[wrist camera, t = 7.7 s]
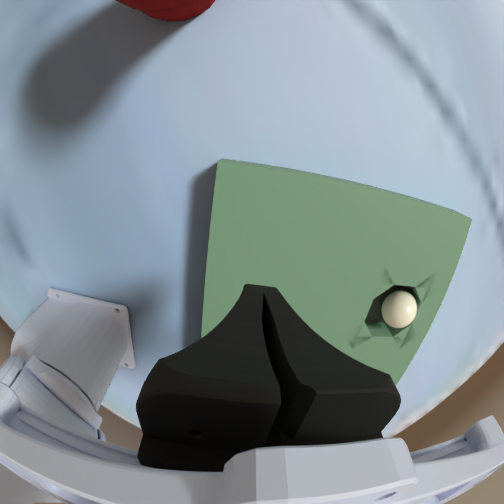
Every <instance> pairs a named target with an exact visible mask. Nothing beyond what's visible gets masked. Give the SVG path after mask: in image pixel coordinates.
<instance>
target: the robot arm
mask: <svg viewBox="0 0 504 504" xmlns="http://www.w3.org/2000/svg"><path fill="white" fill-rule="evenodd" d="M47 294H48V299H47V300H46V301H45V302H44V303H43V304H42V305H41V306H40V307H39V308H38V309H37V310H36V311H35V312H34V313H33V314H32V315H31V316H30V317H29V318H28V319H27V320H26V321H25V322H24V323H23V324H22V325H21V326H20V327H19V329H18V330H17V332H16V333H15V336H14V338H13V341H12V345H11V355H10V356H9V357H8V358H7V360H6V361H5V362H4V363H3V364H2V365H1V366H0V504H33V503H36V502H47V503H65V504H443V503H445V502H447V501H449V500H451V499H453V498H455V497H457V496H458V495H460V494H462V493H464V492H466V491H467V490H469V489H471V488H473V487H474V486H475V485H477V484H478V483H480V482H481V481H483V480H484V479H485V478H487V477H488V476H489V475H491V474H492V473H493V472H494V471H496V470H497V469H498V468H499V467H500V466H502V465H503V464H504V434H503V432H502V430H501V429H500V427H499V425H498V423H497V422H496V420H495V418H494V417H493V415H491V416H489V417H487V418H484V419H482V420H480V421H478V422H476V423H475V424H473V425H472V426H471V427H470V428H469V429H468V430H467V431H466V433H465V434H464V435H462V436H460V437H457V438H454V439H451V440H449V441H446V442H443V443H440V444H437V445H434V446H431V447H428V448H425V449H421V450H418V451H414V452H411V453H409V450H408V448H407V445H406V443H405V442H404V441H403V439H402V438H383V436H382V433H381V431H382V430H383V429H384V428H385V426H386V425H387V424H388V423H389V422H390V420H391V419H392V418H393V417H394V415H395V414H396V412H397V411H398V409H399V407H400V403H401V398H400V394H399V392H398V390H397V388H396V386H395V384H394V382H393V380H392V378H391V376H390V374H387V373H384V372H382V371H379V370H377V369H374V368H372V367H370V366H367V365H365V364H363V363H361V362H359V361H357V360H355V359H353V358H351V357H350V356H348V355H346V354H345V353H343V352H341V351H340V350H338V349H337V348H335V347H334V346H332V345H331V344H330V343H328V342H327V341H326V340H324V339H323V338H322V337H321V336H319V335H318V334H317V333H316V332H315V331H313V330H312V329H311V328H310V327H309V326H308V325H307V324H306V323H305V322H304V321H303V320H302V319H301V318H300V316H299V315H298V314H297V313H296V312H295V311H294V310H293V308H292V307H291V306H290V305H289V304H288V302H287V301H286V300H285V298H284V297H283V296H282V294H281V293H280V292H279V290H278V289H277V288H276V287H270V286H262V285H254V284H245V285H244V286H243V291H242V293H241V295H240V297H239V299H238V300H237V302H236V303H235V305H234V306H233V308H232V309H231V310H230V312H229V313H228V314H227V315H226V316H225V318H224V319H223V320H222V321H221V322H220V323H219V324H218V325H217V326H216V327H215V328H214V329H212V330H211V331H210V332H209V333H208V334H206V335H205V336H204V337H202V338H201V339H200V340H198V341H197V342H195V343H193V344H192V345H190V346H188V347H187V348H185V349H183V350H181V351H179V352H177V353H174V354H172V355H169V356H167V357H164V358H161V359H159V360H158V362H157V363H156V364H155V366H154V367H153V369H152V370H151V372H150V373H149V375H148V377H147V378H146V380H145V382H144V384H143V386H142V389H141V391H140V394H139V397H138V400H137V403H136V412H137V415H138V419H139V422H140V425H141V429H142V432H143V437H142V440H141V444H140V448H139V451H134V450H131V449H127V448H124V447H121V446H118V445H114V444H111V443H108V442H106V437H105V434H104V433H103V432H102V430H100V429H99V427H100V424H101V422H102V418H101V417H100V416H99V415H98V414H97V411H98V409H99V407H100V405H101V402H102V400H103V398H104V396H105V394H106V392H107V389H108V387H109V385H110V383H111V381H112V379H113V377H114V375H115V373H116V371H117V369H118V367H119V366H122V367H126V368H130V369H134V368H135V366H136V363H135V357H134V351H133V344H132V337H131V329H130V321H129V312H128V309H127V307H126V306H124V305H120V304H115V303H111V302H106V301H102V300H97V299H93V298H89V297H85V296H81V295H77V294H73V293H69V292H65V291H61V290H58V289H54V288H49V289H48V290H47ZM116 308H117V309H119V311H118V310H117V309H116ZM126 363H127V364H126Z"/></svg>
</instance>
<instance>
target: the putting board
mask: <svg viewBox="0 0 504 504" xmlns="http://www.w3.org/2000/svg"><path fill="white" fill-rule="evenodd" d="M471 221H472V219H471V218H469V217H467V216H465V215H463V214H460V213H458V212H456V211H454V210H451V209H448V208H445V207H442V206H439V205H436V204H433V203H429V202H426V201H423V200H420V199H416V198H413V197H410V196H406V195H403V194H399V193H395V192H392V191H388V190H384V189H380V188H377V187H373V186H369V185H365V184H360V183H356V182H352V181H348V180H343V179H339V178H334V177H329V176H325V175H320V174H315V173H310V172H305V171H299V170H294V169H288V168H282V167H276V166H270V165H264V164H257V163H250V162H243V161H236V160H228V159H221V160H219V161H218V164H217V171H216V179H215V187H214V196H213V204H212V213H211V223H210V232H209V242H208V253H207V264H206V275H205V288H204V301H203V315H202V331H201V338H202V337H204V336H205V335H206V334H208V333H209V332H210V331H211V330H212V329H214V328H215V327H216V326H217V325H218V324H219V323H220V322H221V321H222V320H223V319H224V318H225V316H226V315H227V314H228V313H229V312H230V310H231V309H232V308H233V306H234V305H235V303H236V302H237V300H238V299H239V297H240V295H241V293H242V291H243V286H244V285H245V284H254V285H262V286H270V287H276V288H277V289H278V290H279V292H280V293H281V294H282V296H283V297H284V298H285V300H286V301H287V302H288V304H289V305H290V306H291V307H292V308H293V310H294V311H295V312H296V313H297V314H298V315H299V316H300V318H301V319H302V320H303V321H304V322H305V323H306V324H307V325H308V326H309V327H310V328H311V329H312V330H313V331H315V332H316V333H317V334H318V335H319V336H321V337H322V338H323V339H324V340H326V341H327V342H328V343H330V344H331V345H332V346H334V347H335V348H337V349H338V350H340V351H341V352H343V353H345V354H346V355H348V356H350V357H351V358H353V359H355V360H357V361H359V362H361V363H363V364H365V365H367V366H370V367H372V368H374V369H377V370H379V371H382V372H384V373H387V374H390V376H391V378H392V380H393V382H394V384H397V383H398V381H399V380H400V378H401V377H402V375H403V374H404V372H405V370H406V369H407V367H408V366H409V364H410V362H411V361H412V359H413V357H414V355H415V354H416V352H417V350H418V348H419V347H420V345H421V343H422V341H423V339H424V337H425V336H426V334H427V332H428V330H429V328H430V326H431V324H432V322H433V320H434V318H435V316H436V314H437V312H438V309H439V307H440V305H441V303H442V301H443V298H444V296H445V294H446V292H447V289H448V287H449V284H450V282H451V280H452V277H453V274H454V272H455V269H456V267H457V264H458V261H459V258H460V256H461V253H462V250H463V247H464V244H465V241H466V238H467V234H468V231H469V228H470V224H471ZM399 290H402V291H406V292H408V293H410V294H411V295H412V296H413V297H414V299H415V301H416V304H417V313H416V316H415V318H414V320H413V321H412V322H411V323H410V324H409V325H407V326H405V327H403V328H394V327H391V326H389V325H388V324H387V323H386V322H385V321H384V319H383V317H382V311H381V309H382V304H383V301H384V300H385V298H386V297H387V296H388V295H389V294H390V293H392V292H394V291H399Z"/></svg>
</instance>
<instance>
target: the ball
mask: <svg viewBox="0 0 504 504" xmlns="http://www.w3.org/2000/svg"><path fill="white" fill-rule="evenodd" d="M381 311H382V317H383V319H384V321H385V322H386V323H387V324H388V325H389V326H391V327H394V328H403V327H405V326H407V325H409V324H410V323H411V322H412V321H413V320H414V318H415V316H416V313H417V304H416V301H415V299H414V297H413V296H412V295H411V294H410V293H408V292H406V291H402V290H399V291H394V292H392V293H390V294H389V295H388V296H387V297H386V298H385V300H384V301H383V304H382V309H381Z"/></svg>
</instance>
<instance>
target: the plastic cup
mask: <svg viewBox="0 0 504 504" xmlns="http://www.w3.org/2000/svg"><path fill="white" fill-rule="evenodd" d="M116 1H118V2H121V3H123V4H125V5H127V6H129V7H131V8H133V9H137V10H140V11H142V12H144V13H145V14H147V15H149V16H150V17H153V18H157V19H161V20H165V21H168V22H169V21H183V20H186V19H189V18H191V17H194V16H197V15H199V14H201V13H202V12H203V11H205V10H206V9H208V8H210V7H211V5H212V4H213V3H214V1H215V0H116Z"/></svg>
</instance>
